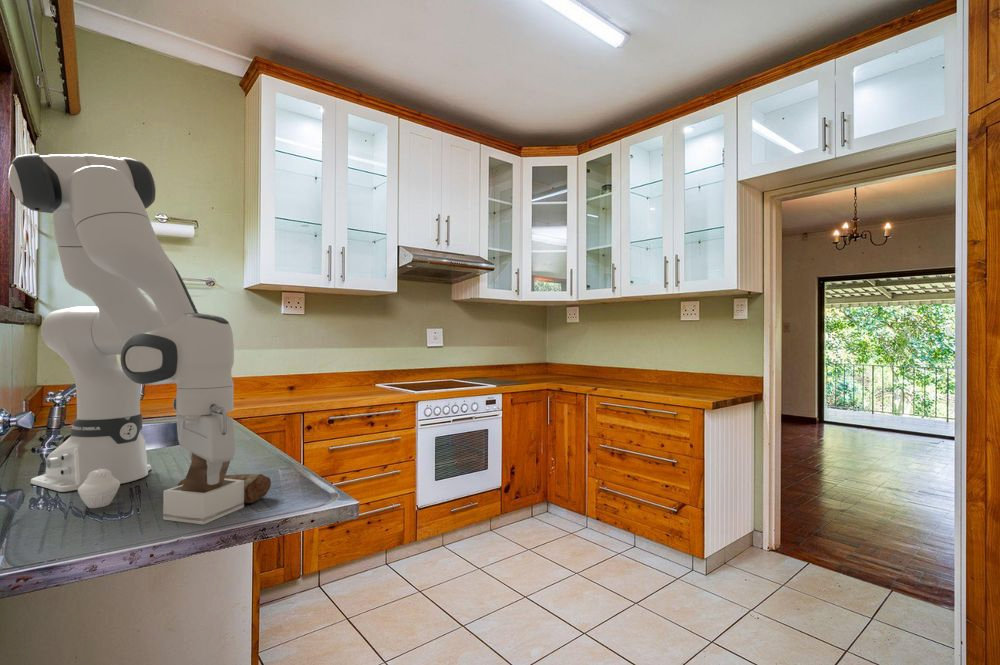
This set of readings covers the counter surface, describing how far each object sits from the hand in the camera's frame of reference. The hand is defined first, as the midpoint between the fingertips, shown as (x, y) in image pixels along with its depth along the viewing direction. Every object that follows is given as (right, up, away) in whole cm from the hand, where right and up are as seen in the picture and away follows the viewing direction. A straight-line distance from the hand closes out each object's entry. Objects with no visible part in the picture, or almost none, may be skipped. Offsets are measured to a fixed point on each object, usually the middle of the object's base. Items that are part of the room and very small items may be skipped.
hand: (205, 479), depth 87 cm
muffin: (-23, -6, +4) cm, 24 cm away
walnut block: (0, -2, -1) cm, 2 cm away
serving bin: (0, -6, 0) cm, 6 cm away
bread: (-2, -7, +7) cm, 10 cm away
